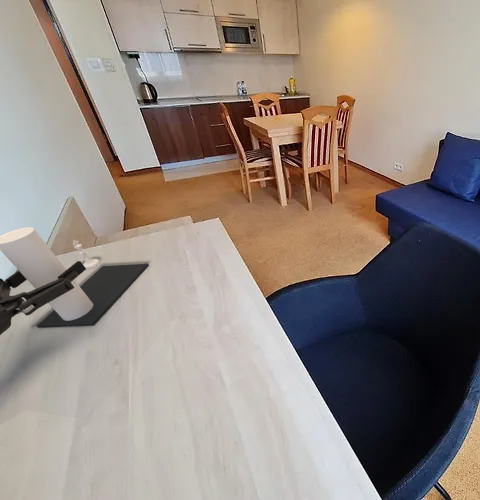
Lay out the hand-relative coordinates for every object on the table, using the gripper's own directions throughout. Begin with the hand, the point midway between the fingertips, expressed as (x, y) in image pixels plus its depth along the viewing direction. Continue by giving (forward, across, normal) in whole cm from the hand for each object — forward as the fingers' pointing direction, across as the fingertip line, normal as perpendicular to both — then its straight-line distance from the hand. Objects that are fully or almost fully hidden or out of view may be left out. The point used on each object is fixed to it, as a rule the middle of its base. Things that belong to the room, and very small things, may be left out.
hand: (57, 266), depth 79 cm
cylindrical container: (-3, 0, -13) cm, 14 cm away
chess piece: (+20, -14, -14) cm, 28 cm away
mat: (+5, 0, -14) cm, 15 cm away
